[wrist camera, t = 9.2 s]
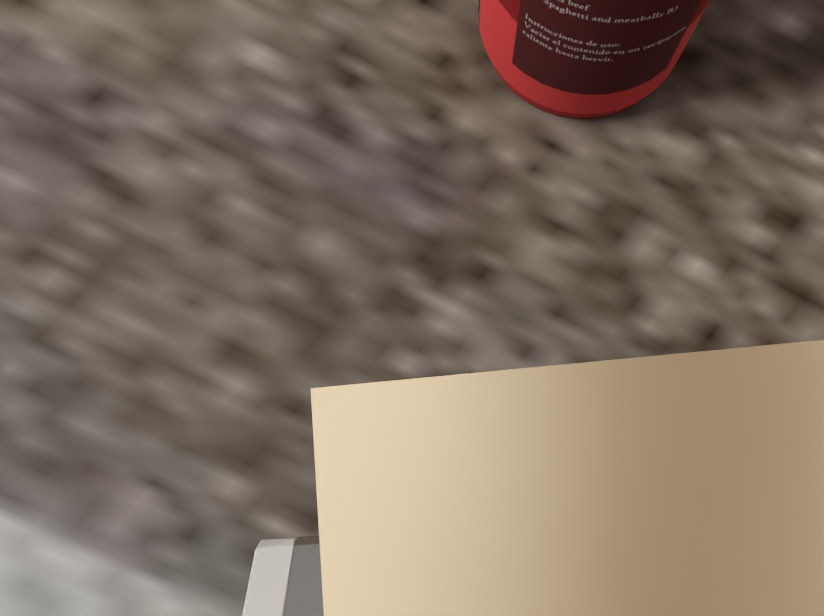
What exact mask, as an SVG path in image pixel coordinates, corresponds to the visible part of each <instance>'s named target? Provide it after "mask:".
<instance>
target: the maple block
mask: <svg viewBox="0 0 824 616" xmlns="http://www.w3.org/2000/svg"><path fill="white" fill-rule="evenodd" d="M311 402H312V419H313V437H314V454H315V472H316V489H317V507H318V524H319V541H320V559H321V576H322V594H323V611H324V616H824V340H818V341H807V342H797V343H786V344H776V345H765V346H754V347H744V348H733V349H723V350H712V351H702V352H691V353H680V354H670V355H659V356H649V357H638V358H628V359H617V360H606V361H596V362H585V363H575V364H564V365H553V366H543V367H532V368H522V369H511V370H501V371H490V372H479V373H469V374H458V375H448V376H437V377H426V378H416V379H405V380H395V381H384V382H374V383H363V384H352V385H342V386H331V387H321V388H311Z"/></svg>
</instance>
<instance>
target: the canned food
mask: <svg viewBox="0 0 824 616" xmlns="http://www.w3.org/2000/svg"><path fill="white" fill-rule="evenodd" d="M709 1H710V0H479V7H478V13H479V30H480V33H481V37H482V41H483V45H484V48H485V50H486V52H487V54H488V56H489V58H490V60H491V62H492V64H493V66H494V68H495V70H496V72H497V73H498V75H499V76H500V77H501V78H502V80H503V81H504V82H505V84H506V85H507V86H508V87H509V88H510V89H511V90H512V91H513V92H515V93H516V94H517V95H518V96H519V97H520V98H521V99H523V100H524V101H526V102H528V103H530V104H531V105H533V106H535V107H536V108H538V109H541V110H543V111H546V112H549V113H552V114H555V115H558V116H564V117H571V118H596V117H601V116H606V115H610V114H614V113H616V112H619V111H621V110H623V109H626V108H628V107H630V106H632V105H634V104H635V103H637V102H639V101H640V100H641V99H643V98H644V97H646V96H647V95H649V94H650V93H651V92H653V91H654V90H656V89H657V87H658V86H659V85H660V84H661V83H662V82H663V81H664V80H665V79H666V78H667V77H668V76H669V74H670V73H671V71H672V69H673V68H674V66H675V64H676V62H677V61H678V59H679V57H680V55H681V54H682V52H683V50H684V48H685V46H686V44H687V42H688V40H689V39H690V37H691V35H692V33H693V31H694V29H695V27H696V26H697V24H698V22H699V20H700V18H701V16H702V14H703V12H704V11H705V9H706V7H707V5H708V3H709Z"/></svg>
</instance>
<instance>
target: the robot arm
mask: <svg viewBox="0 0 824 616" xmlns="http://www.w3.org/2000/svg"><path fill="white" fill-rule="evenodd" d="M242 616H324V611H323V594H322V576H321V559H320V541H319V536H306V537H296V538H281V539H266V540H260V542H259V544H258V546H257V548H256V550H255V554H254V559H253V564H252V569H251V574H250V579H249V584H248V589H247V594H246V599H245V604H244V609H243V614H242Z"/></svg>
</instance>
